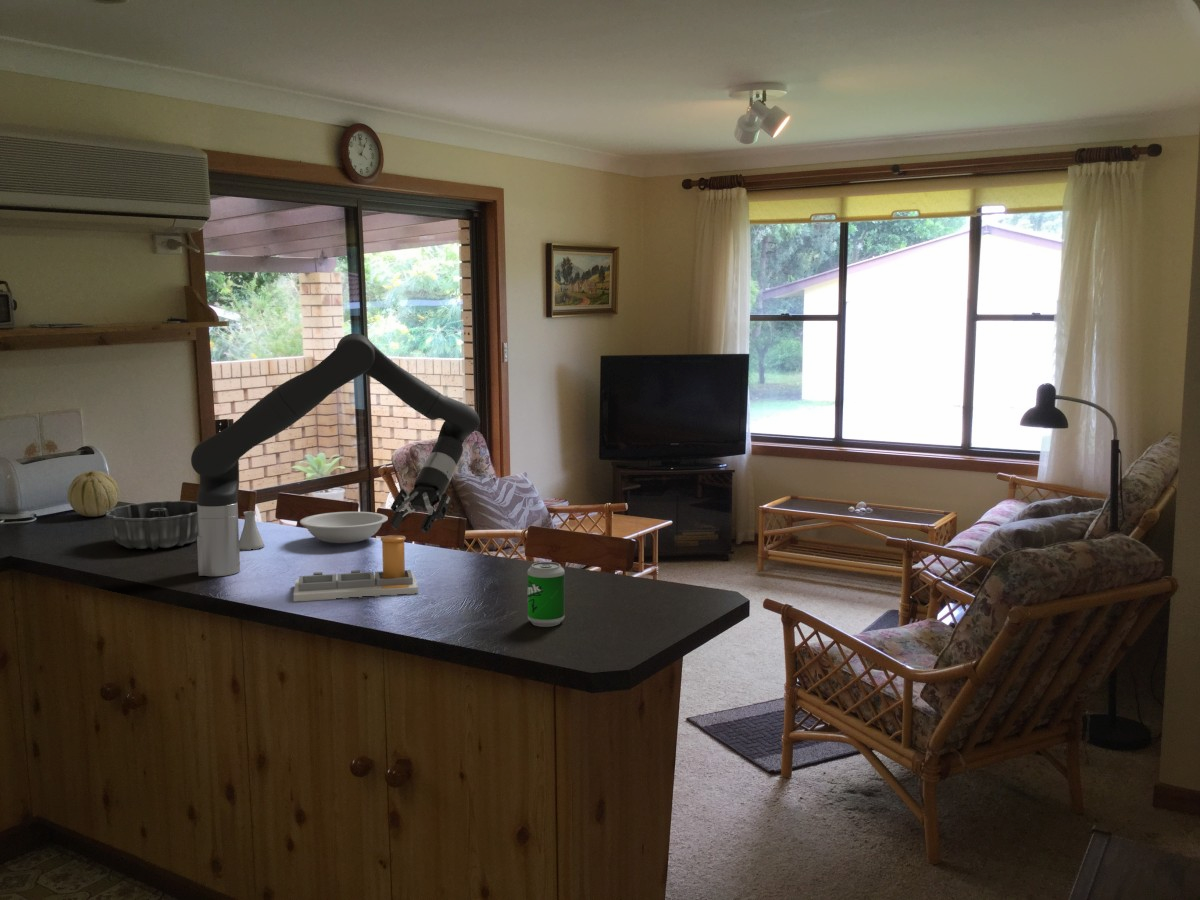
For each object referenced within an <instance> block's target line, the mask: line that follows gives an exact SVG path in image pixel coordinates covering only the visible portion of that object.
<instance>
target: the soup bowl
mask: <svg viewBox="0 0 1200 900" xmlns="http://www.w3.org/2000/svg"><path fill="white" fill-rule="evenodd" d="M388 519H389V518H388V516H387V515H385V514H384V513H383V514H382V513H377V512H371V511H336V512H325V513H318V514H313V515H310V516H309V515H308V516H305V517H304V518H301V519H300V520H299V523H300V525H301V526H304V527H306V530H307V531H308V532H309V533H310V534H311V535H312V536H313V537H314V538H316V539H317V540H319V541H321V542H325V543H328V544H329V543H330V544H352V543H358V542H361V541H365V540H368V539H370V538H371V537H373V536H374V535H375V534H376V533H378V531H379V530H380V528H381V527H382V525H383V524H384V523H386V522H387V521H388Z"/></svg>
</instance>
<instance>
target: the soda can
mask: <svg viewBox="0 0 1200 900" xmlns="http://www.w3.org/2000/svg"><path fill="white" fill-rule="evenodd" d="M526 575H527V619H528V621H529V622H531V624H532V625H533V626H537V627H541V628H542V627H543V628H544V627H545V628H548V627H555V626H558V625H560V624H561V622H562V621H563V620H564V619H565V617H566V615H565V607H566V606H565V603H566V602H565V596H566V595H565V585H566V584H565V583H566V582H565V578H566V577H565V568H563V566H562V565H561V564H560V563H558V562H553V561H540V562H534V563H532V564H531V566H530V567H529V568H528V569H527V574H526Z"/></svg>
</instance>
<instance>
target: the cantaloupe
mask: <svg viewBox="0 0 1200 900" xmlns="http://www.w3.org/2000/svg"><path fill="white" fill-rule="evenodd" d="M119 499H120V488H119V485H118V483H117V481H116V480H115V479H114V478H113V477H112V476H111V475H109V474H108V473H106V472H104V471H101V470H94V471H93V470H90V471H86V472H82V473H81V474H78V475H77V476H76V477H75V478H73V480H72V481H71V483H70V484H69V487H68V489H67V500H68V503H69V506H70V507H71V508H72V510H74V511H75V513H77V514H80V515H81V516H84V517H88V518H89V517H90V518H92V517H93V518H96V517H100V516H101V517H102V516H104V515H106V511H110V510H112V509H113V508H116V507H117V506H116V505H117V503H118V501H119Z"/></svg>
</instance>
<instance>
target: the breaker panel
mask: <svg viewBox="0 0 1200 900" xmlns="http://www.w3.org/2000/svg"><path fill="white" fill-rule="evenodd" d="M298 577H299V578H298V579H295V583H294V589H293V602H304V601H305V602H306V601H307V602H309V601H322V600H323V601H324V600H337V599H336V598H343V599H349V598H348V597H359V598H363V597H362V596H375V597H381V596H380V595H391V596H398V595H397V594H407V595H416V594H415V593H418V594H419V586H418V582H417V580H416V577H415V573H414V572H412V570H411V569H405V578H390V579H383V570H382V571H375V572H374V571H368V572H367V571H366V572H361V569H355V570H350V573H348V572H346V573H337V574H336V573H332V574H331V573H329V574H323V572H322V571H319V572H317V571H316V572H313V574H311V575H300V576H298Z"/></svg>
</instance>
